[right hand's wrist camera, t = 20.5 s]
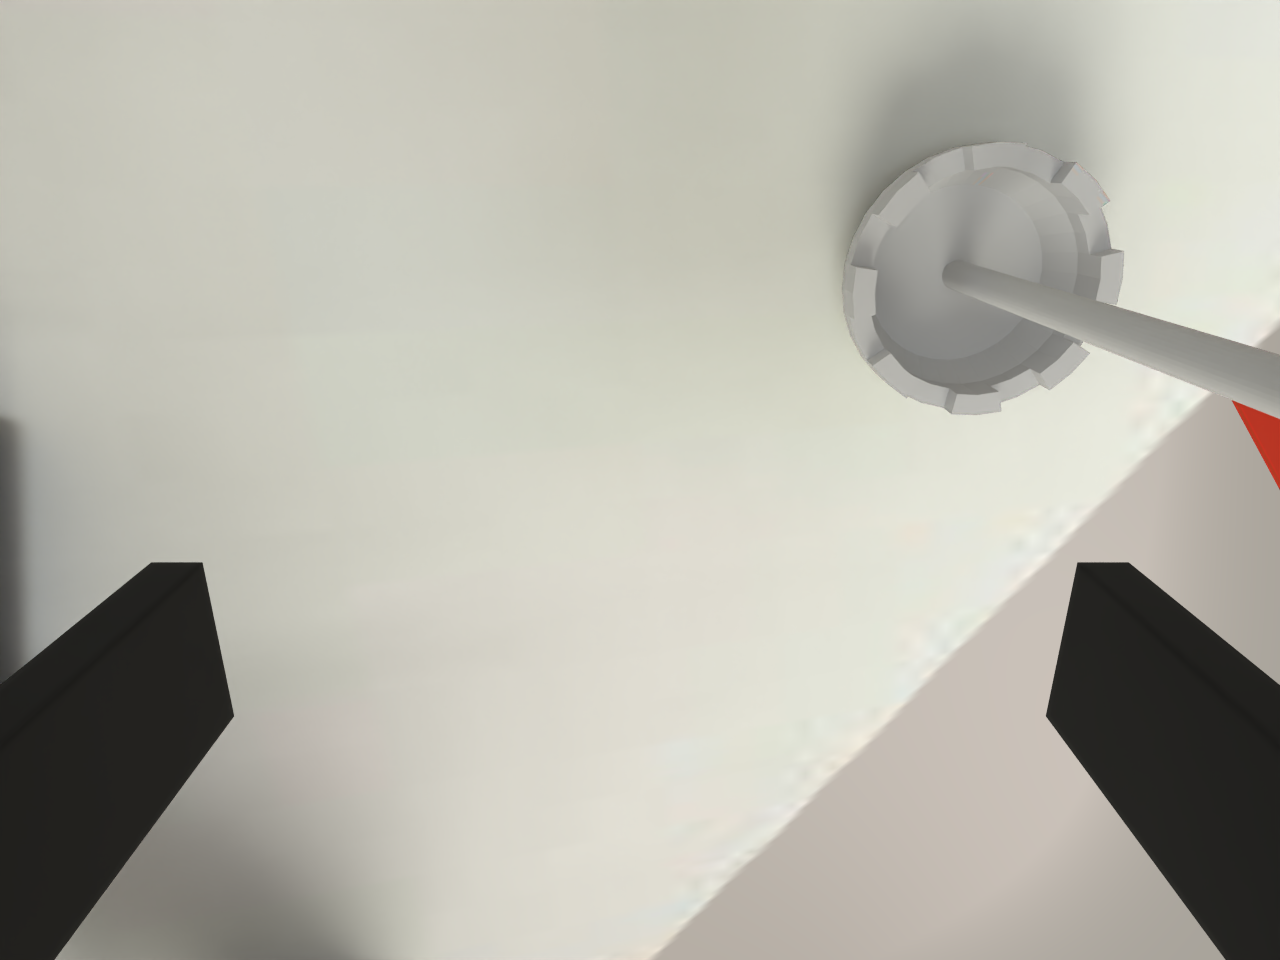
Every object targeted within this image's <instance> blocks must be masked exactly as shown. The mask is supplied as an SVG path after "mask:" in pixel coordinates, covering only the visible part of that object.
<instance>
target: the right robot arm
mask: <svg viewBox="0 0 1280 960" xmlns="http://www.w3.org/2000/svg"><path fill="white" fill-rule="evenodd" d="M233 717H234V713H233V708H232V704H231V699H230V694H229V689H228V684H227V679H226V674H225V670H224V665H223V660H222V655H221V650H220V645H219V640H218V636H217V631H216V626H215V621H214V616H213V611H212V606H211V602H210V597H209V592H208V587H207V582H206V577H205V572H204V568H203V563H150V564H149V565H148V566H146V567H145V568H144V569H143V570H142V571H140V572H139V573H138V574H137V575H135V576H134V577H133V578H132V579H130V580H129V581H128V582H127V583H126V584H124V585H123V586H122V587H121V588H119V589H118V590H117V591H116V592H114V593H113V594H112V595H111V596H110V597H108V598H107V599H106V600H105V601H103V602H102V603H101V604H100V605H98V606H97V607H96V608H95V609H93V610H92V611H91V612H90V613H89V614H87V615H86V616H85V617H84V618H82V619H81V620H80V621H79V622H77V623H76V624H75V625H74V626H73V627H71V628H70V629H69V630H68V631H66V632H65V633H64V634H63V635H61V636H60V637H59V638H58V639H57V640H55V641H54V642H53V643H52V644H50V645H49V646H48V647H47V648H45V649H44V650H43V651H42V652H41V653H39V654H38V655H37V656H36V657H34V658H33V659H32V660H31V661H29V662H28V663H27V664H26V665H24V666H23V667H22V668H21V669H20V670H18V671H17V672H16V673H15V674H13V675H12V676H11V677H10V678H8V679H7V680H6V681H5V682H4V683H2V684H1V685H0V960H54V959H55V958H56V957H57V955H58V954H59V953H60V951H61V950H62V949H63V947H64V946H65V945H66V943H67V942H68V941H69V939H70V938H71V936H72V935H73V934H74V932H75V931H76V930H77V928H78V927H79V926H80V924H81V923H82V922H83V920H84V919H85V917H86V916H87V915H88V913H89V912H90V911H91V909H92V908H93V907H94V905H95V904H96V903H97V901H98V900H99V899H100V897H101V896H102V894H103V893H104V892H105V890H106V889H107V888H108V886H109V885H110V884H111V882H112V881H113V880H114V878H115V877H116V875H117V874H118V873H119V871H120V870H121V869H122V867H123V866H124V865H125V863H126V862H127V861H128V859H129V858H130V856H131V855H132V854H133V852H134V851H135V850H136V848H137V847H138V846H139V844H140V843H141V842H142V840H143V839H144V838H145V836H146V835H147V833H148V832H149V831H150V829H151V828H152V827H153V825H154V824H155V823H156V821H157V820H158V819H159V817H160V816H161V814H162V813H163V812H164V810H165V809H166V808H167V806H168V805H169V804H170V802H171V801H172V800H173V798H174V797H175V795H176V794H177V793H178V791H179V790H180V789H181V787H182V786H183V785H184V783H185V782H186V781H187V779H188V778H189V777H190V775H191V774H192V772H193V771H194V770H195V768H196V767H197V766H198V764H199V763H200V762H201V760H202V759H203V758H204V756H205V755H206V753H207V752H208V751H209V749H210V748H211V747H212V745H213V744H214V743H215V741H216V740H217V739H218V737H219V736H220V735H221V733H222V732H223V730H224V729H225V728H226V726H227V725H228V724H229V722H230V721H231V720H232V718H233ZM1046 717H1047V718H1048V720H1049V721H1050V722H1051V724H1052V725H1053V726H1054V728H1055V729H1056V730H1057V732H1058V733H1059V735H1060V736H1061V737H1062V739H1063V740H1064V741H1065V743H1066V744H1067V745H1068V747H1069V748H1070V749H1071V751H1072V752H1073V753H1074V755H1075V756H1076V758H1077V759H1078V760H1079V762H1080V763H1081V764H1082V766H1083V767H1084V768H1085V770H1086V771H1087V772H1088V774H1089V775H1090V777H1091V778H1092V779H1093V781H1094V782H1095V783H1096V785H1097V786H1098V787H1099V789H1100V790H1101V791H1102V793H1103V794H1104V795H1105V797H1106V798H1107V800H1108V801H1109V802H1110V804H1111V805H1112V806H1113V808H1114V809H1115V810H1116V812H1117V813H1118V814H1119V816H1120V817H1121V818H1122V820H1123V821H1124V823H1125V824H1126V825H1127V827H1128V828H1129V829H1130V831H1131V832H1132V833H1133V835H1134V836H1135V838H1136V839H1137V840H1138V842H1139V843H1140V844H1141V846H1142V847H1143V848H1144V850H1145V851H1146V852H1147V854H1148V855H1149V856H1150V858H1151V859H1152V861H1153V862H1154V863H1155V865H1156V866H1157V867H1158V869H1159V870H1160V871H1161V873H1162V874H1163V875H1164V877H1165V878H1166V880H1167V881H1168V882H1169V884H1170V885H1171V886H1172V888H1173V889H1174V890H1175V892H1176V893H1177V894H1178V896H1179V897H1180V899H1181V900H1182V901H1183V903H1184V904H1185V905H1186V907H1187V908H1188V909H1189V911H1190V912H1191V913H1192V915H1193V916H1194V917H1195V919H1196V920H1197V922H1198V923H1199V924H1200V926H1201V927H1202V928H1203V930H1204V931H1205V932H1206V934H1207V935H1208V936H1209V938H1210V939H1211V941H1212V942H1213V943H1214V945H1215V946H1216V947H1217V949H1218V950H1219V951H1220V953H1221V954H1222V955H1223V957H1224V958H1225V959H1226V960H1280V685H1279V684H1278V683H1276V682H1275V681H1274V680H1273V679H1272V678H1270V677H1269V676H1268V675H1267V674H1265V673H1264V672H1263V671H1262V670H1260V669H1259V668H1258V667H1257V666H1256V665H1254V664H1253V663H1252V662H1251V661H1249V660H1248V659H1247V658H1246V657H1244V656H1243V655H1242V654H1241V653H1239V652H1238V651H1237V650H1236V649H1235V648H1233V647H1232V646H1231V645H1230V644H1228V643H1227V642H1226V641H1225V640H1223V639H1222V638H1221V637H1220V636H1219V635H1217V634H1216V633H1215V632H1214V631H1212V630H1211V629H1210V628H1209V627H1207V626H1206V625H1205V624H1204V623H1203V622H1201V621H1200V620H1199V619H1197V618H1196V617H1195V616H1194V615H1193V614H1191V613H1190V612H1189V611H1188V610H1186V609H1185V608H1184V607H1183V606H1181V605H1180V604H1179V603H1178V602H1177V601H1175V600H1174V599H1173V598H1172V597H1170V596H1169V595H1168V594H1167V593H1166V592H1164V591H1163V590H1162V589H1161V588H1159V587H1158V586H1157V585H1156V584H1154V583H1153V582H1152V581H1151V580H1150V579H1148V578H1147V577H1146V576H1145V575H1143V574H1142V573H1141V572H1140V571H1138V570H1137V569H1136V568H1135V567H1134V566H1132V565H1131V564H1130V563H1077V568H1076V573H1075V577H1074V582H1073V587H1072V592H1071V597H1070V602H1069V606H1068V611H1067V616H1066V621H1065V626H1064V631H1063V636H1062V641H1061V645H1060V650H1059V655H1058V660H1057V665H1056V670H1055V674H1054V679H1053V684H1052V689H1051V694H1050V699H1049V704H1048V708H1047V713H1046Z"/></svg>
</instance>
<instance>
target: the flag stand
mask: <svg viewBox="0 0 1280 960" xmlns="http://www.w3.org/2000/svg"><path fill="white" fill-rule="evenodd" d="M1109 201H1110V200H1109V198H1108V197H1107V195H1106V194H1105V192H1104V191H1103V190H1102V188H1101V187H1100V185H1099V184H1098V182H1097V181H1096V179H1094V178H1093V177H1092V176H1091V175H1090V174H1089V173H1088V172H1087V171H1086V170H1084V169H1083V168H1082V167H1081V166H1080V165H1079V164H1078V163H1077V162H1063V161H1061V160H1059V159H1057V158H1055V157H1054V156H1052V155H1050V154H1048V153H1046V152H1044V151H1042V150H1039V149H1035V148H1032V147H1028V146H1027V143H1017V142H989V143H978V144H972V145H966V146H960V147H954V148H951V149H949V150H946V151H943V152H941V153H938V154H936V155H933V156H930V157H928V158H926V159H925V160H923V161H921V162H920V163H918V164H916V165H915V166H913V167H912V168H910V169H908V170H907V171H905V172H904V173H903V174H901V175H900V176H899V177H898V178H897V179H896V180H895V181H894V182H892V183H891V184H890V185H889V186H888V187H887V188H886V189H885V190H884V191H883V192H882V193H881V194H880V196H879V197H878V198H877V199H876V201H875V202H874V203H873V204H872V206H871V207H870V208H869V210H868V211H867V212H866V214H865V216H864V218H863V219H862V221H861V223H860V225H859V227H858V229H857V231H856V233H855V235H854V236H853V239H852V242H851V246H850V249H849V252H848V255H847V258H846V261H845V268H844V276H843V284H842V293H843V307H844V315H845V318H846V322H847V325H848V329H849V332H850V336H851V338H852V340H853V341H854V343H855V345H856V347H857V349H858V351H859V353H860V355H861V356H862V358H863V359H864V360H865V361H866V362H867V364H868V365H869V366H870V367H871V368H872V369H873V371H874V372H875V373H876V374H877V375H878V376H879V377H880V378H882V379H883V380H884V381H885V382H886V383H887V384H888V385H890V386H891V387H892V388H894V389H895V390H896V391H898V392H899V393H900V394H902V395H903V396H904V397H905V398H907V397H910V398H912V399H915V400H917V401H919V402H921V403H925V404H929V405H933V406H938V407H942V408H945V409H946V410H947V411H948V412H950V413H951V414H963V415H980V414H986V413H993V412H1000V411H1001V402H1004V401H1007V400H1010V399H1012V398H1015V397H1018V396H1020V395H1021V394H1023V393H1025V392H1027V391H1029V390H1031V389H1032V388H1034V387H1036V386H1038V385H1041V386H1043V387H1045V388H1047V389H1049V390H1051V389H1052V388H1053V387H1054V386H1056V385H1057V384H1058V383H1060V382H1061V381H1062V380H1063V379H1065V378H1066V377H1067V376H1069V375H1070V374H1071V373H1072V372H1073V371H1074V370H1075V369H1076V368H1077V367H1078V366H1079V365H1080V363H1081V362H1082V361H1083V360H1084V359H1085V358H1086V357H1087V356H1088V355H1089V354H1090V353H1089V352H1088V351H1086V350H1085V349H1083V348H1081V347H1080V346H1081V344H1082V343H1083V341H1084V342H1086V343H1089V344H1092V345H1094V346H1097V347H1099V348H1102V349H1104V350H1107V351H1109V352H1112V353H1114V354H1117V355H1119V356H1122V357H1124V358H1127V359H1129V360H1132V361H1134V362H1137V363H1140V364H1142V365H1145V366H1147V367H1150V368H1152V369H1155V370H1157V371H1160V372H1162V373H1165V374H1167V375H1170V376H1172V377H1175V378H1177V379H1180V380H1183V381H1185V382H1188V383H1190V384H1193V385H1195V386H1198V387H1200V388H1203V389H1205V390H1208V391H1210V392H1213V393H1215V394H1218V395H1220V396H1223V397H1226V398H1228V399H1231V400H1232V402H1233V404H1234V405H1235V407H1236V409H1237V411H1238V413H1239V415H1240V417H1241V419H1242V420H1243V422H1244V424H1245V426H1246V428H1247V430H1248V431H1249V433H1250V435H1251V437H1252V439H1253V441H1254V443H1255V445H1256V446H1257V448H1258V450H1259V452H1260V454H1261V456H1262V458H1263V459H1264V461H1265V463H1266V465H1267V467H1268V469H1269V471H1270V472H1271V474H1272V476H1273V478H1274V480H1275V482H1276V484H1277V485H1278V487H1279V489H1280V355H1279V354H1275V353H1272V352H1268V351H1265V350H1262V349H1258V348H1255V347H1251V346H1248V345H1245V344H1241V343H1238V342H1235V341H1231V340H1228V339H1224V338H1221V337H1218V336H1214V335H1211V334H1207V333H1204V332H1201V331H1197V330H1194V329H1191V328H1187V327H1184V326H1180V325H1177V324H1174V323H1170V322H1167V321H1163V320H1160V319H1157V318H1153V317H1150V316H1146V315H1143V314H1140V313H1136V312H1133V311H1130V310H1126V309H1123V308H1119V307H1116V306H1113V305H1109V304H1117V300H1118V296H1119V292H1120V287H1121V283H1122V279H1123V261H1124V251H1121V250H1115V249H1111V244H1110V238H1109V232H1108V226H1107V222H1106V219H1105V217H1104V214H1103V212H1102V209H1101V207H1102V206H1104V205H1105V204H1106V203H1108V202H1109ZM1106 303H1109V304H1106Z"/></svg>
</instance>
